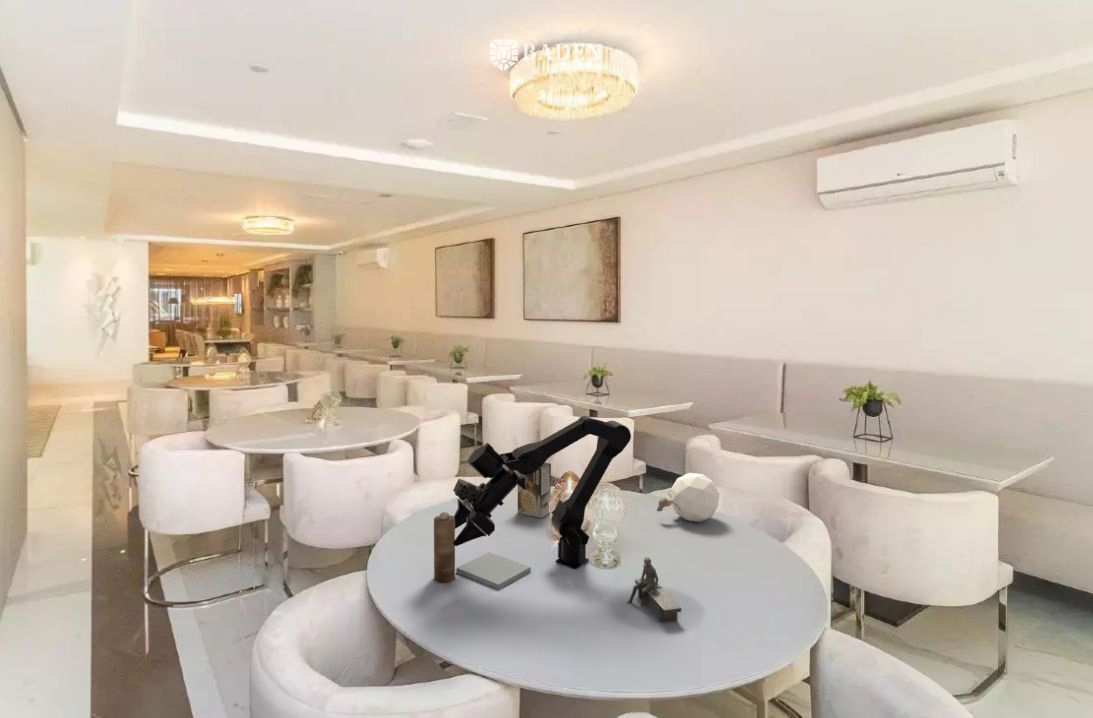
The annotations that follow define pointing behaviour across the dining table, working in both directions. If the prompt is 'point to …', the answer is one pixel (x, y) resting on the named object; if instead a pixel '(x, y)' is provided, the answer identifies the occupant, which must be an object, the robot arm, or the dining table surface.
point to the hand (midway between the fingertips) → (451, 537)
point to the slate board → (493, 570)
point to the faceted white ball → (692, 497)
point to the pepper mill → (444, 548)
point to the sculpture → (655, 593)
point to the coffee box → (536, 492)
